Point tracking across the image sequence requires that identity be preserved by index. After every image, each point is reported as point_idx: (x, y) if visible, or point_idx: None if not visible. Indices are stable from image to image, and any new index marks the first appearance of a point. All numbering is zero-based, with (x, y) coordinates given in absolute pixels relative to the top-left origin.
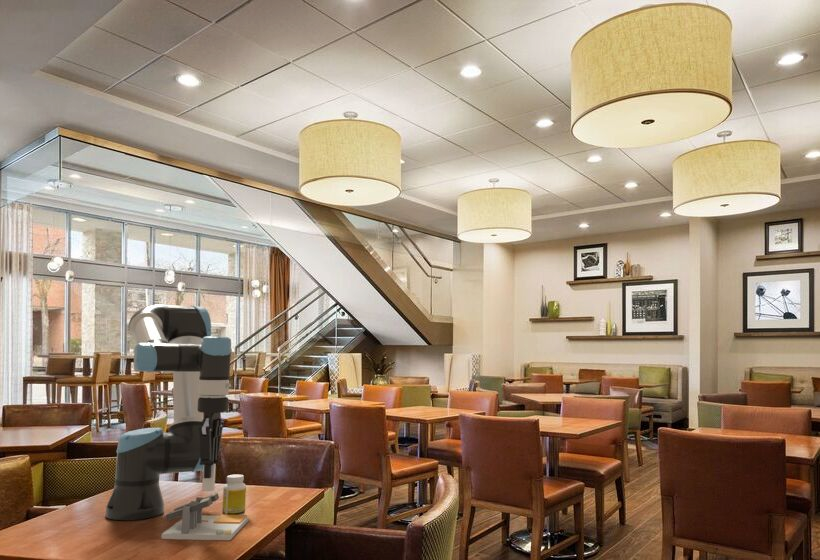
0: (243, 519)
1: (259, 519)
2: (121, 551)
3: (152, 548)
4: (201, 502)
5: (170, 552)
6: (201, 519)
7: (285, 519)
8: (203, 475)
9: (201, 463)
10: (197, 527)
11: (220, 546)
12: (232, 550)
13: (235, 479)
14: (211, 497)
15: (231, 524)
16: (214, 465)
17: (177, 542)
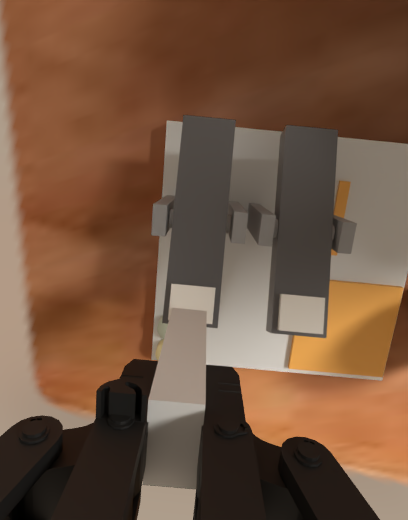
0: (338, 370)
1: (389, 402)
2: (21, 18)
3: (62, 124)
4: (170, 290)
5: (26, 198)
6: None
7: (377, 476)
8: (160, 355)
9: (43, 419)
10: (246, 233)
11: (94, 335)
12: (60, 374)
13: None
14: (271, 315)
15: (278, 341)
16: (158, 479)
17: (130, 192)
